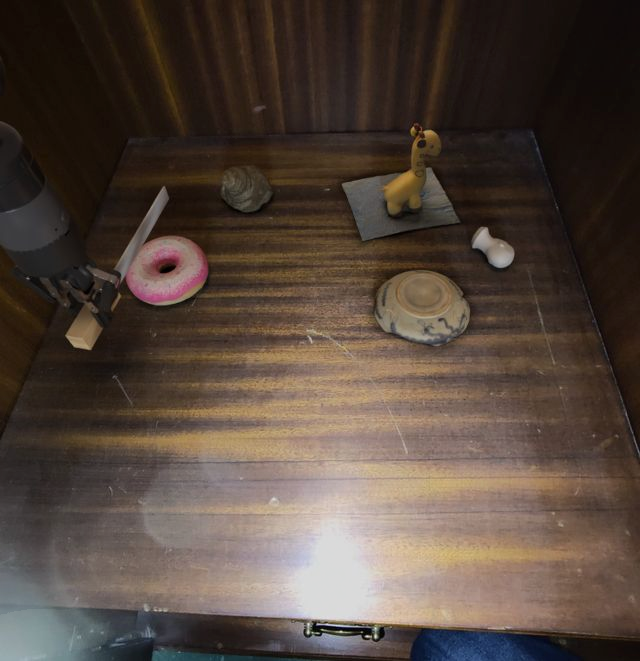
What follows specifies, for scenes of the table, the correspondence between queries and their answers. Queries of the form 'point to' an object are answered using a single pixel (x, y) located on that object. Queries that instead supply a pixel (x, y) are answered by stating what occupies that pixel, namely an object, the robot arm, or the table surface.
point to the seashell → (245, 188)
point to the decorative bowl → (422, 307)
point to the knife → (85, 324)
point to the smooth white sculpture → (493, 248)
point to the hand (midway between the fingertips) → (97, 320)
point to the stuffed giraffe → (402, 195)
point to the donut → (174, 284)
